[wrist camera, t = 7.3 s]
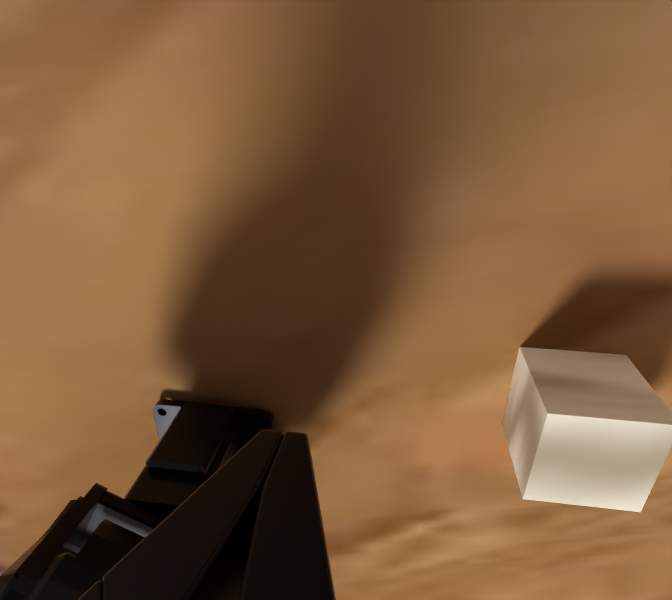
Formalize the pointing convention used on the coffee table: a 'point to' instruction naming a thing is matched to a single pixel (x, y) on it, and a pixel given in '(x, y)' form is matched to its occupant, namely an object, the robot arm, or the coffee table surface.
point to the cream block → (585, 429)
